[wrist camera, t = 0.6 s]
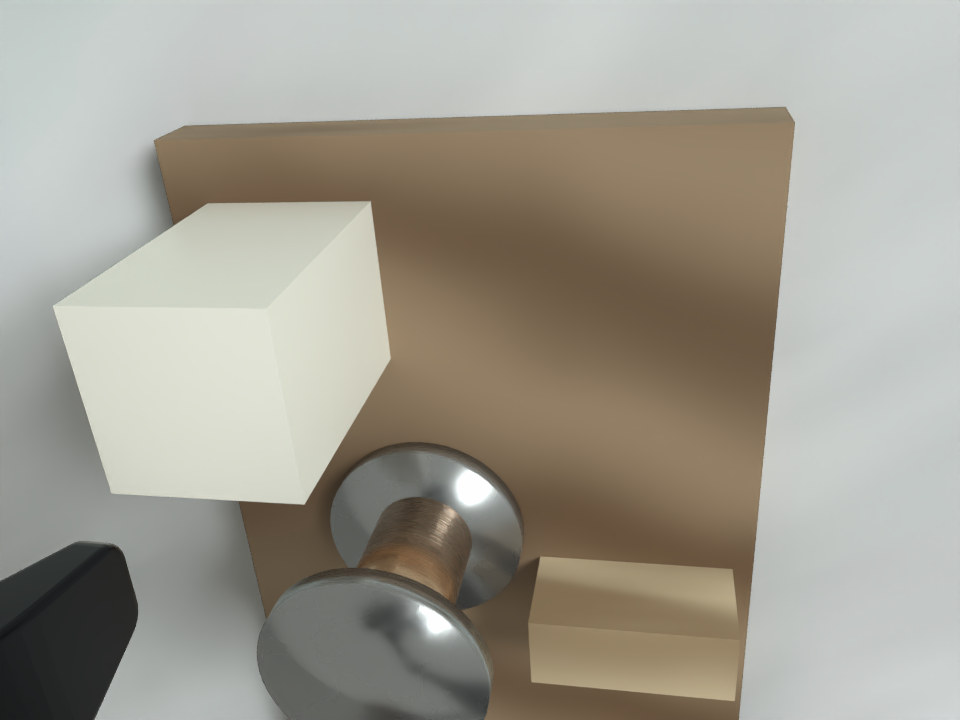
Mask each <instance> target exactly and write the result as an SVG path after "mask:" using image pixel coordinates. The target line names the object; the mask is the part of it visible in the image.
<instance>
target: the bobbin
mask: <svg viewBox="0 0 960 720" xmlns="http://www.w3.org/2000/svg"><path fill="white" fill-rule="evenodd" d="M330 524H331V532H332V536H333V540H334V543H335V545H336V548H337V550H338V552H339V554H340V556H341V557H342V559H343V561H344V562H345V563H346V565H347V566H348V568H339V569H331V570H327V571H322V572H319V573H316V574H313V575H310V576H308V577H306V578H304V579H302V580H300V581H298V582H297V583H295V584H294V585H293V586H291V587H290V588H289V589H287V590H286V591H285V593H284V594H283V595H282V596H281V597H280V598H279V600H278V601H277V603H276V604H275V606H274V607H273V609H272V611H271V613H270V615H269V617H268V618H267V620H266V622H265V624H264V626H263V628H262V630H261V633H260V635H259V640H258V645H257V661H258V667H259V671H260V674H261V677H262V680H263V682H264V684H265V686H266V688H267V690H268V692H269V694H270V695H271V697H272V698H273V700H274V701H275V703H276V704H277V705H278V706H279V707H280V709H281V710H282V711H283V712H284V713H285V714H286V715H287V716H288V717H289V718H290V719H291V720H484V719H485V717H486V714H487V710H488V705H489V700H490V696H491V691H492V686H493V664H492V658H491V655H490V652H489V649H488V646H487V644H486V642H485V641H484V639H483V637H482V635H481V633H480V632H479V630H478V629H477V628H476V626H475V625H474V623H473V622H472V621H471V620H470V619H469V618H468V617H467V615H466V614H465V613H464V612H463V611H462V610H464V609H468V608H471V607H475V606H478V605H480V604H482V603H484V602H486V601H488V600H490V599H491V598H493V597H495V596H496V595H497V594H498V593H500V592H501V591H502V590H503V589H504V588H505V587H506V586H507V585H508V583H509V582H510V581H511V579H512V577H513V576H514V574H515V572H516V570H517V567H518V564H519V561H520V556H521V551H522V546H523V541H524V523H523V517H522V514H521V511H520V507H519V505H518V503H517V501H516V499H515V497H514V495H513V494H512V492H511V491H510V489H509V488H508V486H507V485H506V484H505V483H504V482H503V480H502V479H501V478H500V477H499V476H498V475H497V474H496V473H495V472H494V471H493V470H491V469H490V468H489V467H487V466H486V465H485V464H483V463H482V462H480V461H479V460H477V459H475V458H474V457H472V456H470V455H468V454H466V453H464V452H461V451H459V450H456V449H453V448H450V447H447V446H444V445H439V444H434V443H425V442H405V443H397V444H393V445H389V446H385V447H382V448H380V449H377V450H375V451H373V452H371V453H369V454H368V455H366V456H364V457H363V458H362V459H361V460H359V461H358V462H357V463H356V464H355V465H354V466H353V467H352V468H351V469H350V471H349V472H348V474H347V475H346V477H345V478H344V480H343V482H342V484H341V486H340V487H339V489H338V491H337V493H336V495H335V498H334V500H333V504H332V508H331V517H330Z"/></svg>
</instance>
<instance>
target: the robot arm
mask: <svg viewBox="0 0 960 720" xmlns="http://www.w3.org/2000/svg"><path fill="white" fill-rule="evenodd" d="M137 618H138V603H137V599H136V596H135V592H134V589H133V585H132V581H131V578H130V574H129V571H128V567H127V564H126V560H125V557H124V554H123V552H122V551H121V549H120V548H119V547H118V546H116V545H114V544H110V543H100V542H90V541H79V542H75V543H73V544H71V545H69V546H67V547H65V548H63V549H61V550H59V551H57V552H56V553H54V554H52V555H50V556H48V557H46V558H44V559H42V560H40V561H38V562H36V563H34V564H33V565H31V566H29V567H27V568H25V569H23V570H21V571H19V572H17V573H15V574H13V575H11V576H9V577H8V578H6V579H4V580H2V581H0V720H94V719H95V717H96V715H97V713H98V710H99V708H100V706H101V704H102V701H103V699H104V697H105V695H106V693H107V690H108V688H109V686H110V684H111V681H112V679H113V677H114V675H115V672H116V670H117V668H118V666H119V663H120V661H121V659H122V657H123V654H124V652H125V650H126V648H127V645H128V643H129V641H130V639H131V637H132V634H133V632H134V629H135V627H136V623H137Z"/></svg>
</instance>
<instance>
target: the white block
mask: <svg viewBox="0 0 960 720" xmlns="http://www.w3.org/2000/svg"><path fill="white" fill-rule="evenodd" d="M53 308H54V312H55V315H56V318H57V321H58V324H59V327H60V331H61V334H62V337H63V340H64V343H65V347H66V350H67V353H68V356H69V359H70V362H71V366H72V369H73V372H74V375H75V378H76V382H77V385H78V388H79V391H80V394H81V398H82V401H83V404H84V407H85V410H86V413H87V417H88V420H89V423H90V426H91V429H92V433H93V436H94V439H95V442H96V445H97V448H98V452H99V455H100V458H101V461H102V464H103V468H104V471H105V474H106V477H107V480H108V483H109V487H110V490H111V493H112V494H128V495H145V496H163V497H180V498H198V499H215V500H232V501H250V502H267V503H284V504H302V505H304V504H305V503H306V501H307V499H308V498H309V496H310V494H311V493H312V491H313V489H314V488H315V486H316V484H317V482H318V481H319V479H320V477H321V476H322V474H323V472H324V471H325V469H326V467H327V466H328V464H329V462H330V461H331V459H332V457H333V455H334V454H335V452H336V450H337V449H338V447H339V445H340V444H341V442H342V440H343V439H344V437H345V435H346V434H347V432H348V430H349V428H350V427H351V425H352V423H353V422H354V420H355V418H356V417H357V415H358V413H359V412H360V410H361V408H362V406H363V405H364V403H365V401H366V400H367V398H368V396H369V395H370V393H371V391H372V390H373V388H374V386H375V385H376V383H377V381H378V379H379V378H380V376H381V374H382V373H383V371H384V369H385V368H386V366H387V364H388V363H389V361H390V359H391V357H390V349H389V341H388V333H387V325H386V317H385V310H384V302H383V294H382V286H381V278H380V270H379V262H378V255H377V247H376V239H375V231H374V223H373V215H372V208H371V201H354V202H274V203H207V204H206V205H204V206H203V207H201V208H200V209H198V210H197V211H195V212H194V213H192V214H191V215H189V216H188V217H186V218H185V219H183V220H182V221H180V222H179V223H177V224H176V225H174V226H173V227H171V228H170V229H168V230H167V231H165V232H164V233H162V234H161V235H159V236H158V237H156V238H155V239H153V240H152V241H150V242H149V243H147V244H146V245H144V246H143V247H141V248H140V249H138V250H137V251H135V252H134V253H132V254H130V255H129V256H127V257H126V258H124V259H123V260H121V261H120V262H118V263H117V264H115V265H114V266H112V267H111V268H109V269H108V270H106V271H105V272H103V273H102V274H100V275H99V276H97V277H96V278H94V279H93V280H91V281H90V282H88V283H87V284H85V285H84V286H82V287H81V288H79V289H78V290H76V291H75V292H73V293H72V294H70V295H69V296H67V297H66V298H64V299H63V300H61V301H60V302H58V303H57V304H55V305H54V306H53Z"/></svg>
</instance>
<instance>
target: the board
mask: <svg viewBox="0 0 960 720" xmlns="http://www.w3.org/2000/svg"><path fill="white" fill-rule="evenodd" d="M794 127H795V122H794V120H793V118H792V117H791V115H790V114H789V112H788V110H787V109H786V107H773V108H741V109H709V110H677V111H645V112H613V113H581V114H549V115H516V116H484V117H452V118H420V119H388V120H356V121H324V122H292V123H259V124H227V125H195V126H183V127H181V128H179V129H177V130H175V131H173V132H171V133H169V134H166V135H164V136H162V137H160V138H158V139H156V140H154V143H155V147H156V151H157V156H158V160H159V164H160V168H161V173H162V177H163V181H164V185H165V190H166V194H167V198H168V202H169V207H170V211H171V215H172V219H173V224H174V225H176V224H177V223H179V222H180V221H182V220H183V219H185V218H186V217H188V216H189V215H191V214H192V213H194V212H195V211H197V210H198V209H200V208H201V207H203V206H204V205H206V204H207V203H274V202H354V201H371V208H372V215H373V223H374V231H375V239H376V247H377V255H378V262H379V270H380V278H381V286H382V294H383V302H384V310H385V317H386V325H387V333H388V341H389V349H390V357H391V359H390V361H389V363H388V364H387V366H386V368H385V369H384V371H383V373H382V374H381V376H380V378H379V379H378V381H377V383H376V385H375V386H374V388H373V390H372V391H371V393H370V395H369V396H368V398H367V400H366V401H365V403H364V405H363V406H362V408H361V410H360V412H359V413H358V415H357V417H356V418H355V420H354V422H353V423H352V425H351V427H350V428H349V430H348V432H347V434H346V435H345V437H344V439H343V440H342V442H341V444H340V445H339V447H338V449H337V450H336V452H335V454H334V455H333V457H332V459H331V461H330V462H329V464H328V466H327V467H326V469H325V471H324V472H323V474H322V476H321V477H320V479H319V481H318V482H317V484H316V486H315V488H314V489H313V491H312V493H311V494H310V496H309V498H308V499H307V501H306V503H305V504H304V505H302V504H284V503H267V502H250V501H239V504H240V509H241V513H242V517H243V521H244V526H245V530H246V534H247V538H248V543H249V547H250V551H251V555H252V560H253V564H254V568H255V572H256V577H257V581H258V585H259V589H260V594H261V598H262V602H263V606H264V611H265V615H266V619H267V618H268V617H269V615H270V613H271V611H272V609H273V607H274V606H275V604H276V603H277V601H278V600H279V598H280V597H281V596H282V595H283V594H284V593H285V591H286V590H287V589H289V588H290V587H291V586H293V585H294V584H295V583H297V582H298V581H300V580H302V579H304V578H306V577H308V576H310V575H313V574H316V573H319V572H322V571H327V570H331V569H339V568H348V566H347V565H346V563H345V562H344V561H343V559H342V557H341V556H340V554H339V552H338V550H337V548H336V545H335V543H334V540H333V536H332V532H331V524H330V517H331V508H332V504H333V500H334V498H335V495H336V493H337V491H338V489H339V487H340V486H341V484H342V482H343V480H344V478H345V477H346V475H347V474H348V472H349V471H350V469H351V468H352V467H353V466H354V465H355V464H356V463H357V462H358V461H359V460H361V459H362V458H363V457H364V456H366V455H368V454H369V453H371V452H373V451H375V450H377V449H380V448H382V447H385V446H389V445H393V444H397V443H405V442H425V443H434V444H439V445H444V446H447V447H450V448H453V449H456V450H459V451H461V452H464V453H466V454H468V455H470V456H472V457H474V458H475V459H477V460H479V461H480V462H482V463H483V464H485V465H486V466H487V467H489V468H490V469H491V470H493V471H494V472H495V473H496V474H497V475H498V476H499V477H500V478H501V479H502V480H503V482H504V483H505V484H506V485H507V486H508V488H509V489H510V491H511V492H512V494H513V495H514V497H515V499H516V501H517V503H518V505H519V507H520V511H521V514H522V517H523V523H524V541H523V546H522V551H521V556H520V561H519V564H518V567H517V570H516V572H515V574H514V576H513V577H512V579H511V581H510V582H509V583H508V585H507V586H506V587H505V588H504V589H503V590H502V591H501V592H500V593H498V594H497V595H496V596H495V597H493V598H491V599H490V600H488V601H486V602H484V603H482V604H480V605H478V606H475V607H471V608H468V609H464V610H462V611H463V612H464V613H465V614H466V615H467V617H468V618H469V619H470V620H471V621H472V622H473V623H474V625H475V626H476V628H477V629H478V630H479V632H480V633H481V635H482V637H483V639H484V641H485V642H486V644H487V646H488V649H489V652H490V655H491V658H492V664H493V686H492V691H491V696H490V700H489V705H488V710H487V714H486V717H485V719H484V720H739V710H740V700H741V689H742V679H743V668H744V657H745V647H746V636H747V626H748V615H749V604H750V594H751V583H752V573H753V562H754V551H755V541H756V530H757V520H758V509H759V498H760V488H761V477H762V466H763V456H764V445H765V435H766V424H767V413H768V403H769V392H770V382H771V371H772V360H773V350H774V339H775V329H776V318H777V307H778V297H779V286H780V276H781V265H782V254H783V244H784V233H785V223H786V212H787V201H788V191H789V180H790V170H791V159H792V148H793V138H794ZM540 556H541V557H557V558H572V559H587V560H602V561H617V562H632V563H647V564H663V565H678V566H693V567H708V568H723V569H733V578H734V587H735V596H736V605H737V615H738V624H739V633H740V649H739V660H738V671H737V682H736V693H735V701H727V700H717V699H706V698H695V697H685V696H674V695H663V694H653V693H642V692H631V691H621V690H610V689H599V688H589V687H578V686H567V685H557V684H546V683H535V682H531V665H530V647H529V629H528V621H529V616H530V610H531V605H532V599H533V594H534V589H535V583H536V578H537V572H538V567H539V561H540ZM290 720H291V719H290Z"/></svg>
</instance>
